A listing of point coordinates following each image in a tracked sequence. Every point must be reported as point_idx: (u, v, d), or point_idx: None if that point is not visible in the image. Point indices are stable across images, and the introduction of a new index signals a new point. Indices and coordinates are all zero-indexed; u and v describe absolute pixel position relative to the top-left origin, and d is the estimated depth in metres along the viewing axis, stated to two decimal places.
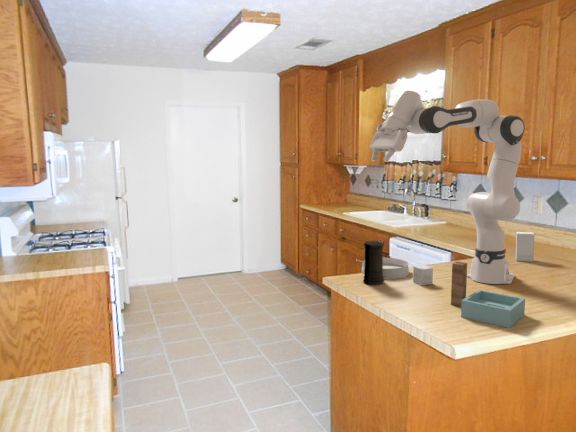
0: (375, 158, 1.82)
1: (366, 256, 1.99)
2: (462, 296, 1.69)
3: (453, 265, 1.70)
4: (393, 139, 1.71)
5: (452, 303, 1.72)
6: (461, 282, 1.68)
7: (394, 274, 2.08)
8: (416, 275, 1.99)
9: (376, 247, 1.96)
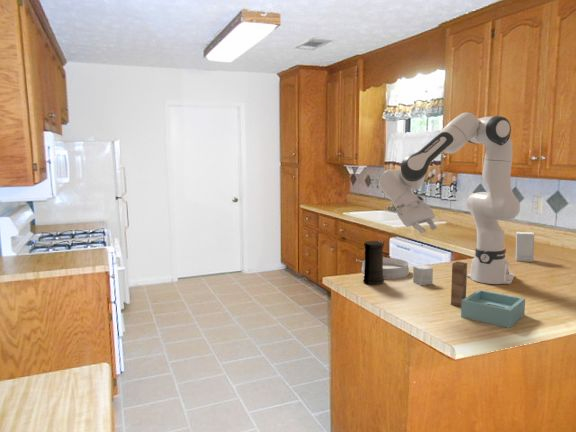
0: (432, 227, 1.80)
1: (366, 256, 1.99)
2: (462, 296, 1.69)
3: (453, 265, 1.70)
4: None
5: (452, 303, 1.72)
6: (461, 282, 1.68)
7: (394, 274, 2.08)
8: (416, 275, 1.99)
9: (376, 247, 1.96)
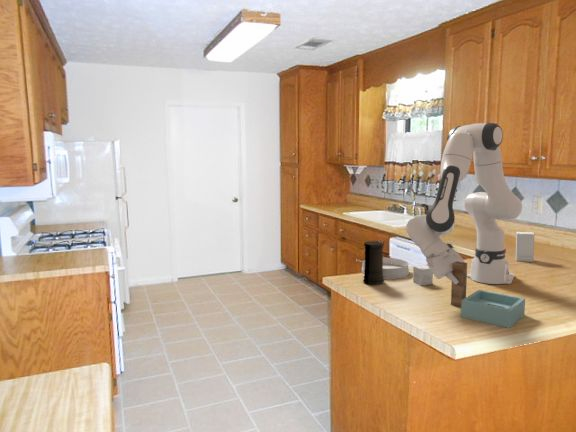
0: None
1: (366, 256, 1.99)
2: (462, 296, 1.69)
3: (453, 265, 1.70)
4: None
5: (452, 303, 1.72)
6: (461, 282, 1.68)
7: (394, 274, 2.08)
8: (416, 275, 1.99)
9: (376, 247, 1.96)
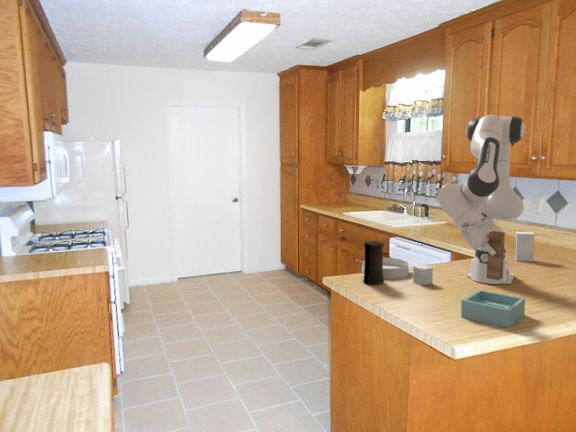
0: None
1: (366, 256, 1.99)
2: (499, 268, 1.55)
3: (489, 235, 1.55)
4: None
5: (488, 276, 1.57)
6: (498, 253, 1.54)
7: (394, 274, 2.08)
8: (416, 275, 1.99)
9: (376, 247, 1.96)
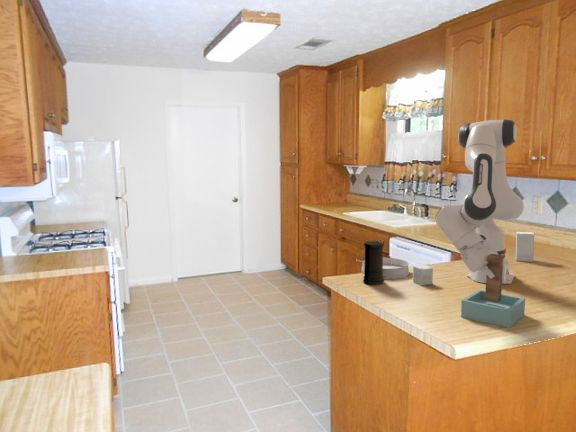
0: None
1: (366, 256, 1.99)
2: (498, 291, 1.56)
3: (488, 257, 1.56)
4: None
5: (486, 299, 1.58)
6: (497, 276, 1.55)
7: (394, 274, 2.08)
8: (416, 275, 1.99)
9: (376, 247, 1.96)
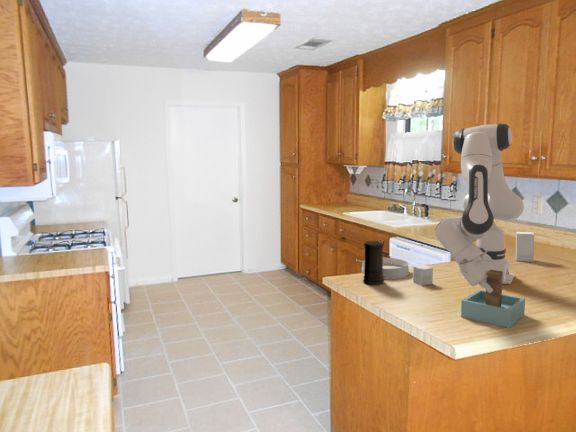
0: None
1: (366, 256, 1.99)
2: None
3: (488, 274, 1.57)
4: None
5: None
6: (496, 292, 1.56)
7: (394, 274, 2.08)
8: (416, 275, 1.99)
9: (376, 247, 1.96)
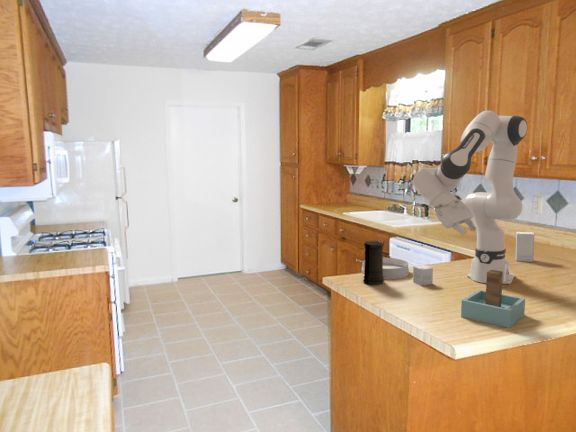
0: (472, 228, 1.69)
1: (366, 256, 1.99)
2: None
3: (488, 274, 1.57)
4: None
5: None
6: (496, 292, 1.56)
7: (394, 274, 2.08)
8: (416, 275, 1.99)
9: (376, 247, 1.96)
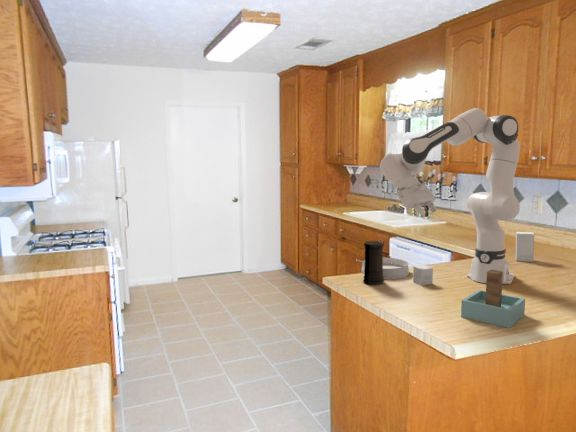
0: (433, 209, 1.83)
1: (366, 256, 1.99)
2: None
3: (488, 274, 1.57)
4: None
5: None
6: (496, 292, 1.56)
7: (394, 274, 2.08)
8: (416, 275, 1.99)
9: (376, 247, 1.96)
